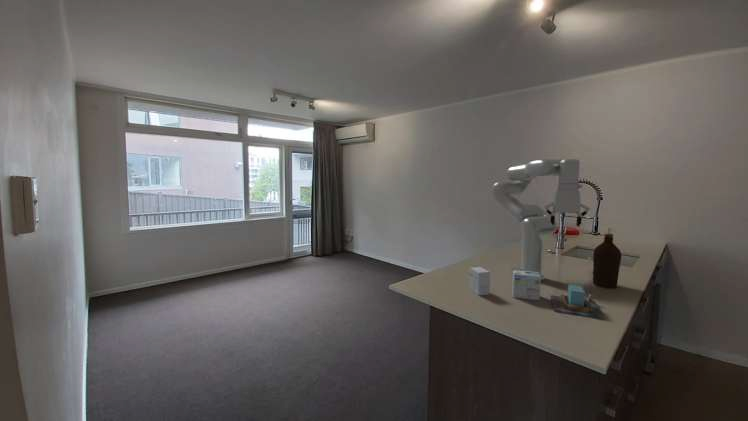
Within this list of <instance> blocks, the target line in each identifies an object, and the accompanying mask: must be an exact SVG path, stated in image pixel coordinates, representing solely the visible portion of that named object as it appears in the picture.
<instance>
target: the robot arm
mask: <svg viewBox="0 0 748 421" xmlns="http://www.w3.org/2000/svg"><path fill="white" fill-rule="evenodd" d="M580 161H581V160H579V159H577V158H564V159H557V158H556V159H551V158H549V159H546V158H545V159H538V160H537V159H536V160H534V161H532V160H531V161H529V162H528V163H527V162H526V163H521V164H516V165H511V166H510V167H509V168H508V169H507V170H506V177H507V179H508V180H501V181H498V182H495V183H494V184H493V185H492V187H491V194H492V197H493V198H492V199H494V201H495V203H496V204H498V205H499V207H501V208H502V209H503V210H505V211H506V213H507V214H508V215H510V216H511V218H512V219H513V220H514V221H515V222H518V223H520V230H521V236H522V237H521V238H522V240H521V242H522V243H521V257H520V258H521V259H520V260H521V262H520V266H519V267H511V272H513V270H518V271H530V272H539V274H540V276H541V282H542V281H544V280H545V276H544V275H543V274H542V270H543V269H542V267H543V265H542V264H543V248H544V245H543V240H542V238H541V236H548V235H553V234H554V233H555V232H556V231H557V229H558V223H557V221H556V217H555V215H556V214H557V213H563V214H565V213H566V214H576V215H577V216H576V227H580V225H582V218H584V216H586V215H587V214H588V212H589V211H590V209H591V208H590V207H589V206H587V205H585V204H583V203H581V193H580V192H581V191H580V189H582V188H583V184H579V181H580V180H579V178H580V165H581V162H580ZM546 176H547V177H552V176H553V177H558V186H557V189H556V190H555V192H554V195H553V196H554V197H553V202H551V203H549V204H545V206H544V208H542V207H541V206H539V205H538V204H526V203H525V204H523V203H522V202H520V200H518V199H517V198H516V197H515V196H520V195H522V194H523V193H524V192H525V190H526V189H527V188H528V186H529V185H530V184H531V182H532V181H533V180H534V179H536V178H537V177H546ZM551 207H552V211H551V210H550V208H551ZM581 208H583V209H584V210H583V211H582V212H581Z"/></svg>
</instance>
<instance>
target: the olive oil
mask: <svg viewBox="0 0 748 421" xmlns="http://www.w3.org/2000/svg"><path fill="white" fill-rule="evenodd" d="M621 261H622V252H621V250H620V249H619V248H618V246H617V245H616V244H615V243H614V234H612V233H604V238H603V241H602V242H601V243H600V244H599V245H597V246H596V247H595V248H594V250H593V262H592V263H593V267H592V284H593V285H594V286H595V287H599V288H603V289H609V290H610V289H612V290H613V289H616V288H617V287H618V280H619V274H620V269H621V268H620V267H621Z"/></svg>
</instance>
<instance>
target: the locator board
mask: <svg viewBox="0 0 748 421" xmlns="http://www.w3.org/2000/svg"><path fill="white" fill-rule="evenodd" d="M567 298H568V294H567V295H565V294H560V295H552V294H550V300H551V304H552V307H553V311H554V312H555V313H560V314H561V313H562V314H568V315H573V316H575V315H576V316H582V317H585V318H586V317H587V318H593V319H594V318H595V319H600V320H605V316H604V314H603V313H602V310H601V309H600V308H599V306H598V304H597V303H596V301H595V300H594V294H591V293H589V294H588V300H587V298H586V297H585V299H584V307H581V306H574V305H569V304H568V301H567Z"/></svg>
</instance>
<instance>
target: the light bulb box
mask: <svg viewBox="0 0 748 421" xmlns="http://www.w3.org/2000/svg"><path fill="white" fill-rule="evenodd" d="M541 283H542V281H541V276H540V274H539V272H530V271H518V270H513V271H512V284H511V285H512V287H511V288H512V289H511V290H512V292H511V294H512V298H514V299H523V300H533V301H541Z"/></svg>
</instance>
